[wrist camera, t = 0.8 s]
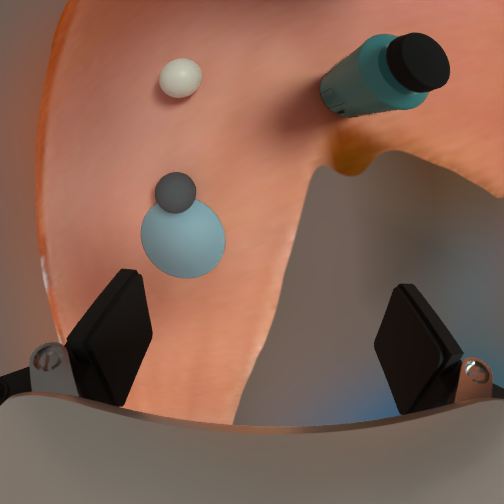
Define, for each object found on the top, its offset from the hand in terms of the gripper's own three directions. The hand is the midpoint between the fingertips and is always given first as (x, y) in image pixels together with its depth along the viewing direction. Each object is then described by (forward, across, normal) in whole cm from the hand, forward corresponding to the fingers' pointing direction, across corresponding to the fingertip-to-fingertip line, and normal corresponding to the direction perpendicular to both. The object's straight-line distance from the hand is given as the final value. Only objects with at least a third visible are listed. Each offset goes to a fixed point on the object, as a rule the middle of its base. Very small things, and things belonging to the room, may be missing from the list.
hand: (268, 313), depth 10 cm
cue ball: (+24, +10, -12) cm, 29 cm away
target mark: (+26, +10, +9) cm, 30 cm away
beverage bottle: (+27, -9, -12) cm, 31 cm away
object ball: (+24, +10, +2) cm, 26 cm away
